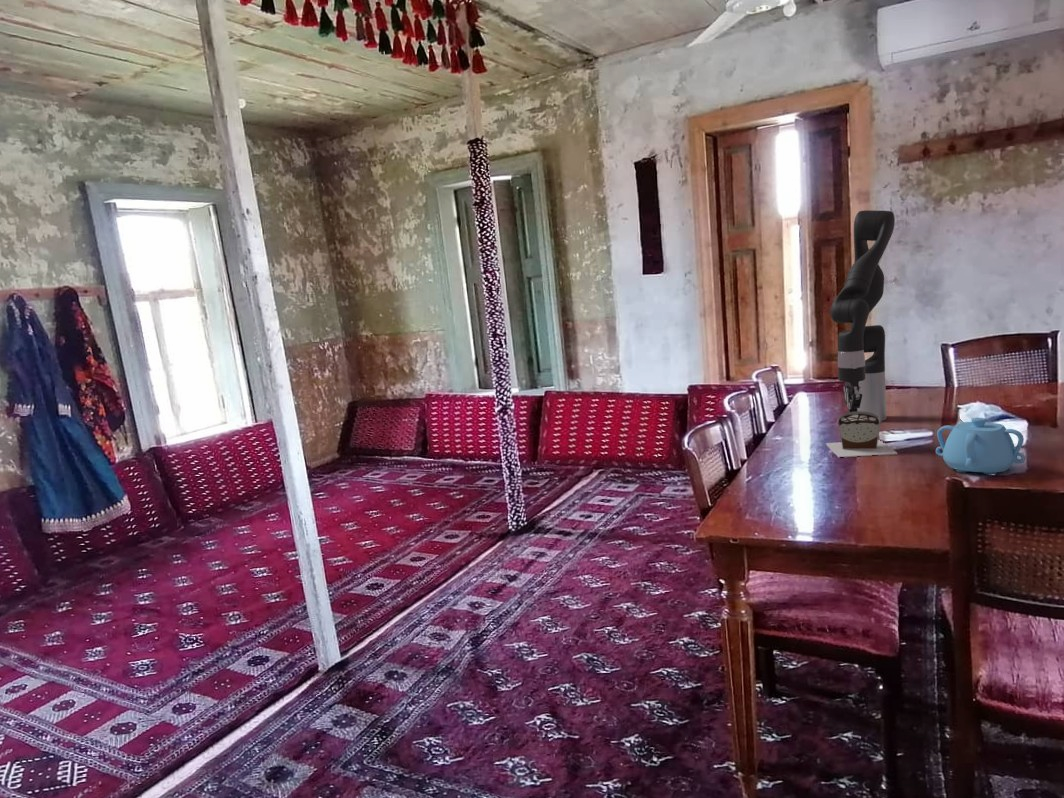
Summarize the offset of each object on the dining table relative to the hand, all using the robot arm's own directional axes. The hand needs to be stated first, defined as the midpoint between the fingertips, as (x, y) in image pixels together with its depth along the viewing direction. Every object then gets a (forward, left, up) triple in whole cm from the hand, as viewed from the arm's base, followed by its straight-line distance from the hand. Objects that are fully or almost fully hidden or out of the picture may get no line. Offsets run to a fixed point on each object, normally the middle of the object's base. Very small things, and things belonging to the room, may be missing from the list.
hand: (853, 420), depth 209 cm
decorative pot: (+30, +23, -8) cm, 39 cm away
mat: (+4, +1, -8) cm, 9 cm away
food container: (+3, +1, -7) cm, 8 cm away
